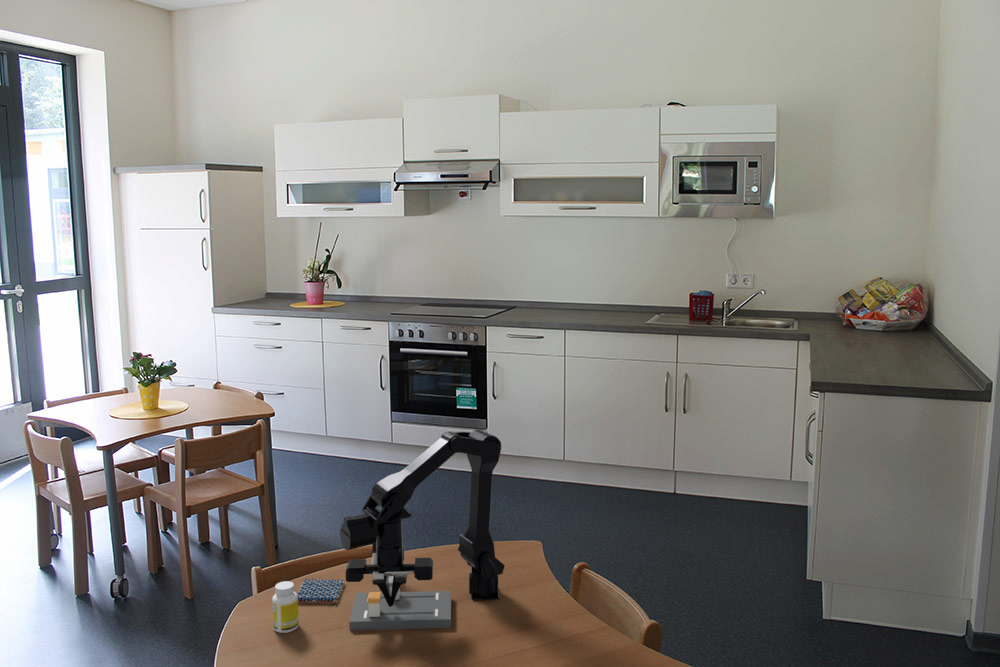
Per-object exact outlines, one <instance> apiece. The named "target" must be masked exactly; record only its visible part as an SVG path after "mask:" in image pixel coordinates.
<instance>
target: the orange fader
mask: <svg viewBox="0 0 1000 667" xmlns="http://www.w3.org/2000/svg"><path fill="white" fill-rule="evenodd" d="M368 593H369V596H368V609H369V617H380V612H381V591H369V592H368Z"/></svg>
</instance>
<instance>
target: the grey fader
mask: <svg viewBox="0 0 1000 667" xmlns="http://www.w3.org/2000/svg"><path fill="white" fill-rule="evenodd" d="M393 577H394V575H391V576H389V579H388V580H389V587H390V594H391V592H392V584H393ZM400 592H401V587H400V588H399V590H398V592H397V594H396V597H395V600H399V598H400Z"/></svg>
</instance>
